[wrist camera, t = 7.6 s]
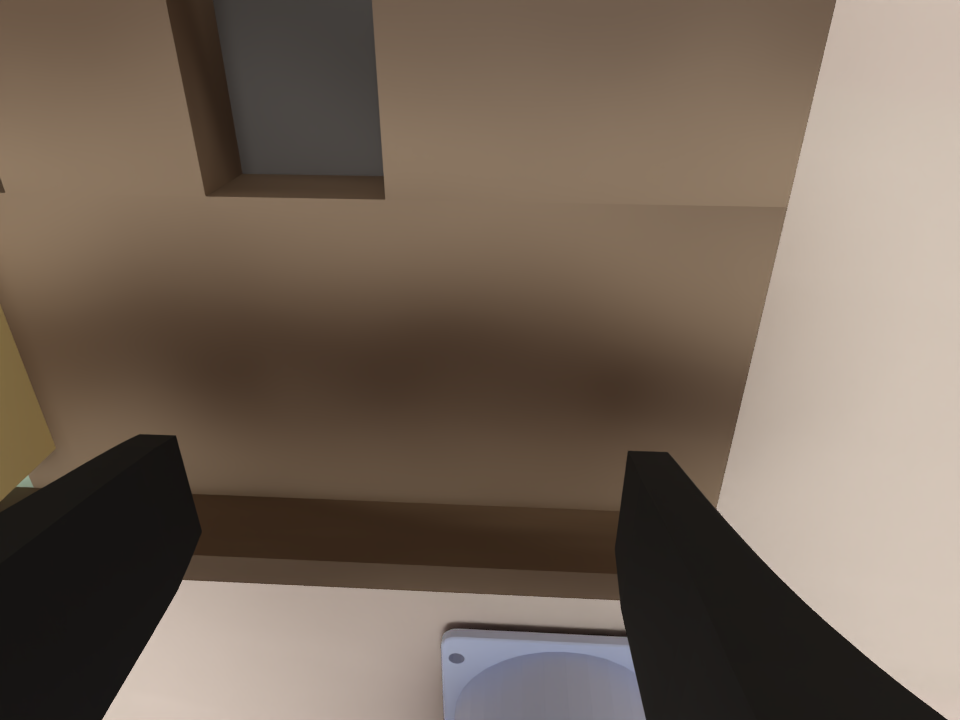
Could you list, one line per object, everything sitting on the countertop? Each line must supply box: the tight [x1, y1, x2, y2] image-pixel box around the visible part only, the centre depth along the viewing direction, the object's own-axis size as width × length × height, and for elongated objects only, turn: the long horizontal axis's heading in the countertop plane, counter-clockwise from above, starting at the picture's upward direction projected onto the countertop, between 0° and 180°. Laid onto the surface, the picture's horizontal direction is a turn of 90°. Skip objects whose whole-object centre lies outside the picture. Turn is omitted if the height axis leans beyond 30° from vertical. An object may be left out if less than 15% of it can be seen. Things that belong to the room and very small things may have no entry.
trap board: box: [0, 0, 836, 600], centre depth 13 cm, size 16×23×5 cm
